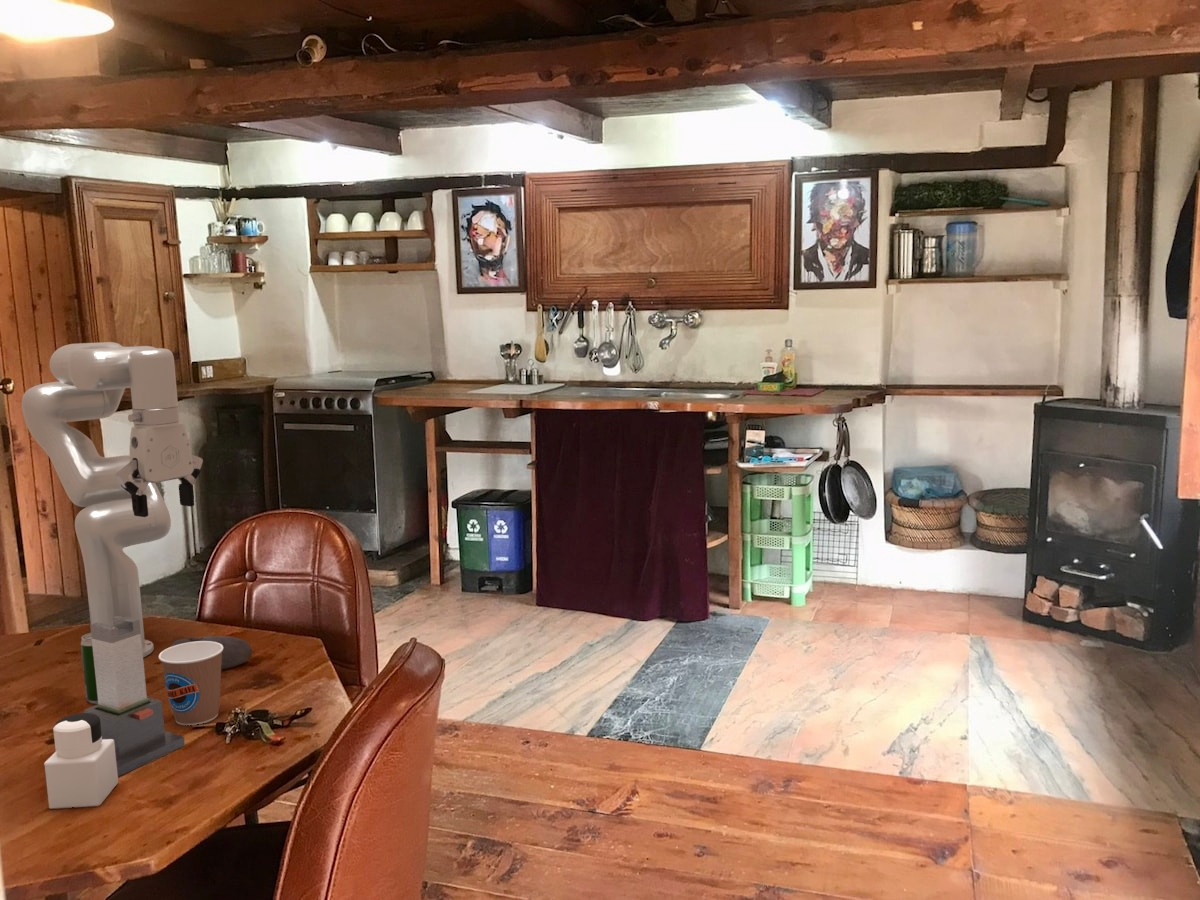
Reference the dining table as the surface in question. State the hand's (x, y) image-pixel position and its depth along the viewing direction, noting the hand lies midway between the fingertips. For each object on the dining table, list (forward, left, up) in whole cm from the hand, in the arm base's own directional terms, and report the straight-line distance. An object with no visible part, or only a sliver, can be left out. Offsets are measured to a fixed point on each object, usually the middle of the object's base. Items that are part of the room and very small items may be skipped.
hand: (164, 510), depth 184 cm
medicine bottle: (+24, -35, -34) cm, 54 cm away
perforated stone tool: (-1, +8, -34) cm, 35 cm away
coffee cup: (+15, -9, -34) cm, 38 cm away
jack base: (+17, -23, -33) cm, 44 cm away
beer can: (-7, -11, -34) cm, 36 cm away
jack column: (+17, -23, -27) cm, 39 cm away
